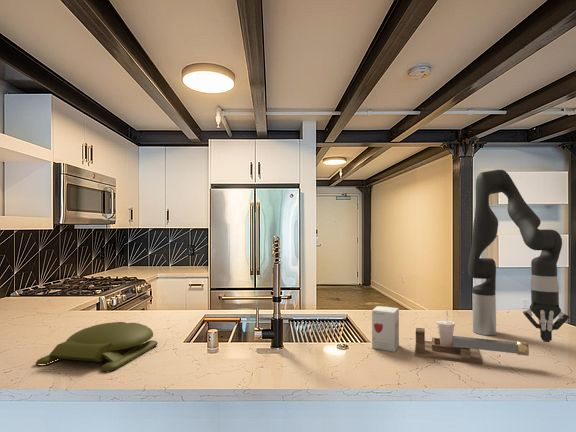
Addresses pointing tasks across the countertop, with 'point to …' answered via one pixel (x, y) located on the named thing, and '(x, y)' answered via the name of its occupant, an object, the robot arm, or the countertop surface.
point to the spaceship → (104, 344)
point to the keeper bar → (491, 345)
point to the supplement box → (385, 328)
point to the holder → (443, 350)
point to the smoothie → (445, 331)
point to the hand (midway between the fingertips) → (546, 341)
